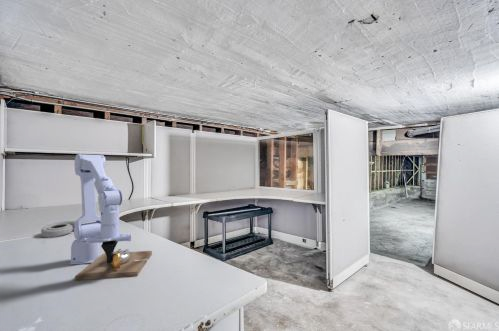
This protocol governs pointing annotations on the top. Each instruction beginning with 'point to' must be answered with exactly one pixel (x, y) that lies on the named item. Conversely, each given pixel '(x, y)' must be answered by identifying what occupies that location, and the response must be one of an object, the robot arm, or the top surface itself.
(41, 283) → the top surface
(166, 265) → the top surface
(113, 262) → the crank handle wheel
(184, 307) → the top surface
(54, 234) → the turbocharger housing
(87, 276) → the plain tan brown board
